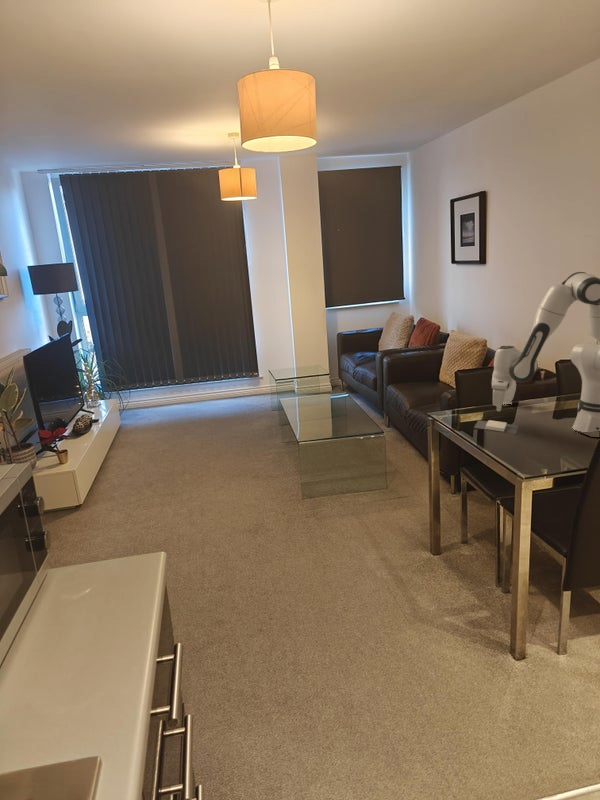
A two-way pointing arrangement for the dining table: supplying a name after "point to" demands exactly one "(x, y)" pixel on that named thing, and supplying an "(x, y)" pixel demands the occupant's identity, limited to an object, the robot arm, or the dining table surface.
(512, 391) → the jar
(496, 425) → the tile
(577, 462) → the dining table surface
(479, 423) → the mat
